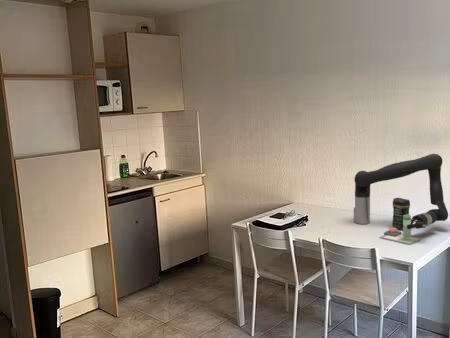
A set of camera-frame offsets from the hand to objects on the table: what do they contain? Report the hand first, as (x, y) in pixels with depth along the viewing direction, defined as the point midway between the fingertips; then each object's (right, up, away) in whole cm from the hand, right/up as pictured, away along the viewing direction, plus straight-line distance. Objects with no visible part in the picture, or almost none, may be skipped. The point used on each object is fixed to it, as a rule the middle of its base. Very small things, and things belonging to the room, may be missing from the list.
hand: (404, 226), depth 243 cm
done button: (-1, -5, +13) cm, 14 cm away
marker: (+3, -6, +3) cm, 7 cm away
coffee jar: (+9, -5, +27) cm, 28 cm away
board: (+1, -8, +8) cm, 11 cm away
